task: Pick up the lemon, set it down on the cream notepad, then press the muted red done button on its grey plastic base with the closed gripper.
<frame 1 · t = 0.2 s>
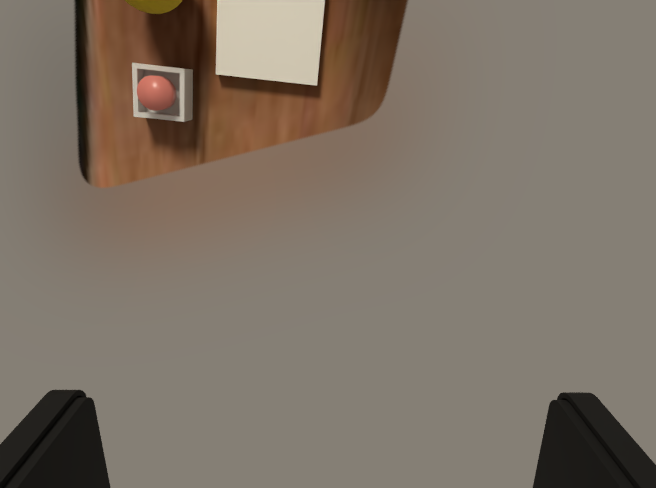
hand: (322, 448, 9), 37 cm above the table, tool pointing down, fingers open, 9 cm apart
paper pad: (271, 25, 40), on the table
button base: (168, 92, 42), on the table
done button: (157, 93, 39), point 3 cm above the table, slide at 0.0 cm
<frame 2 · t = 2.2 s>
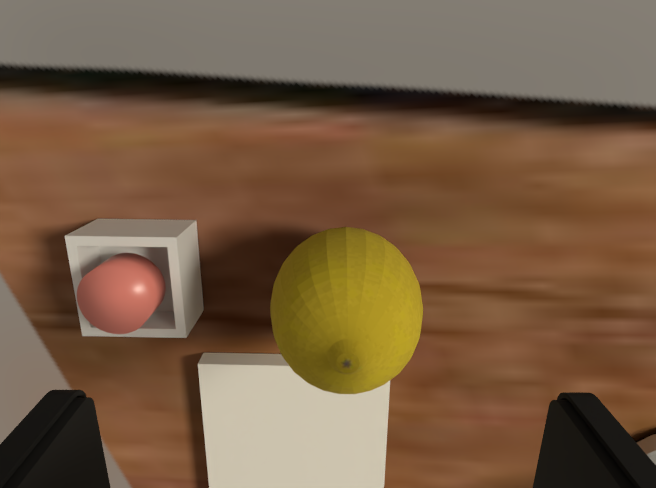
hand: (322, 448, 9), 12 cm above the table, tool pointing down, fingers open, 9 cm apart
paper pad: (296, 430, 24), on the table
button base: (152, 265, 21), on the table
lemon: (344, 264, 21), on the table
done button: (123, 292, 18), point 3 cm above the table, slide at 0.0 cm
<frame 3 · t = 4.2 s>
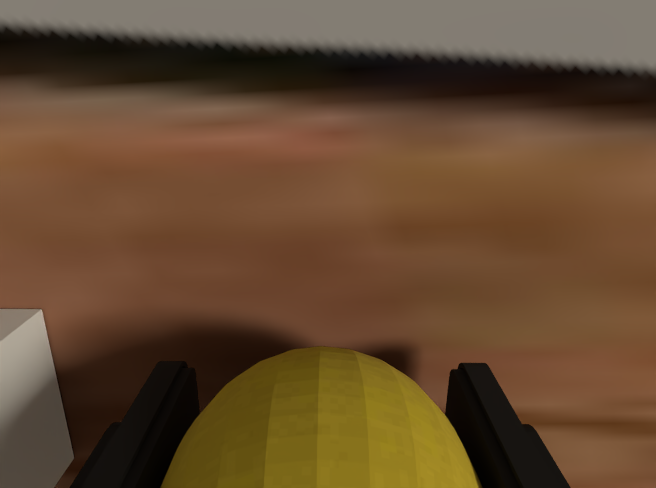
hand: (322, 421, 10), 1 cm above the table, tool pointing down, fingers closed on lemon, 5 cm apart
lemon: (323, 380, 12), on the table, touching gripper
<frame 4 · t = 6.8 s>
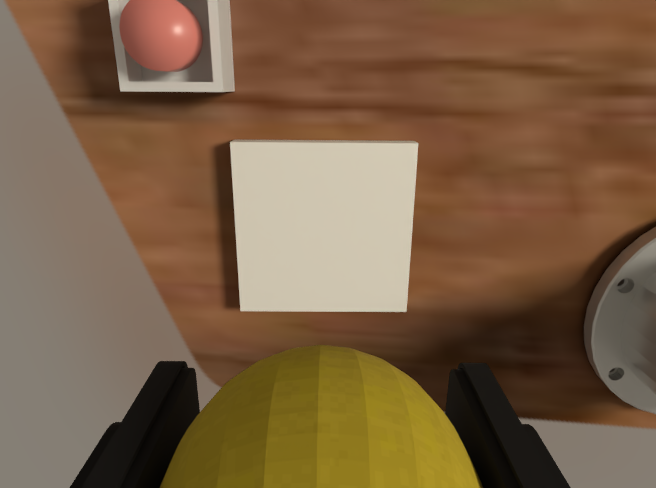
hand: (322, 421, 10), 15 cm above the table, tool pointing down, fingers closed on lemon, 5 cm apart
paper pad: (323, 226, 24), on the table
button base: (184, 41, 21), on the table
lemon: (323, 379, 12), point 13 cm above the table, touching gripper
done button: (162, 34, 18), point 3 cm above the table, slide at 0.0 cm
when the fingers open (4 cm above the table, at t = 9.6 s): lemon drops 1 cm, resting on paper pad.
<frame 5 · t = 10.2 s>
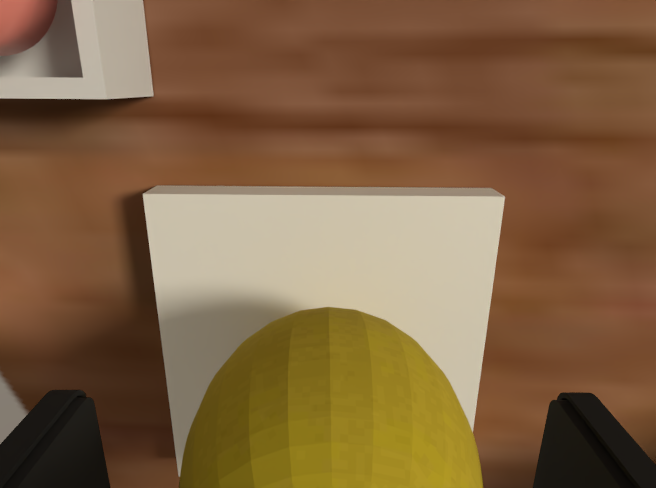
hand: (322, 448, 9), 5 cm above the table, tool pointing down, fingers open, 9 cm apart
paper pad: (323, 334, 14), on the table
lemon: (328, 349, 13), point 1 cm above the table, touching paper pad
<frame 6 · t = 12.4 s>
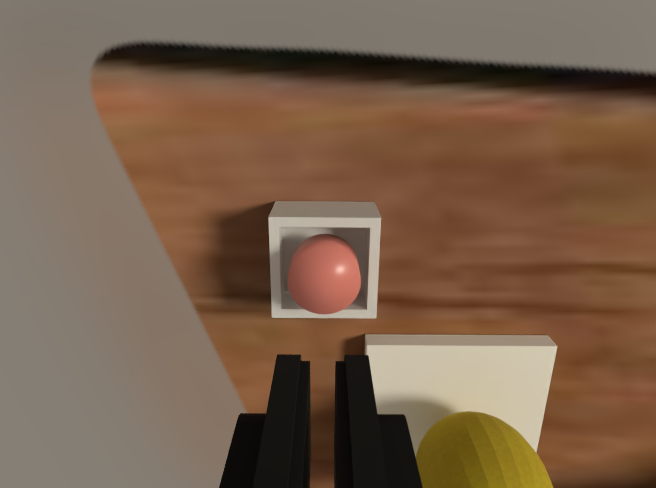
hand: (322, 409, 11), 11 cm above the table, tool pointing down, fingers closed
paper pad: (447, 410, 24), on the table
button base: (324, 248, 21), on the table
lemon: (454, 420, 23), point 1 cm above the table, touching paper pad
done button: (324, 273, 18), point 3 cm above the table, slide at 0.0 cm
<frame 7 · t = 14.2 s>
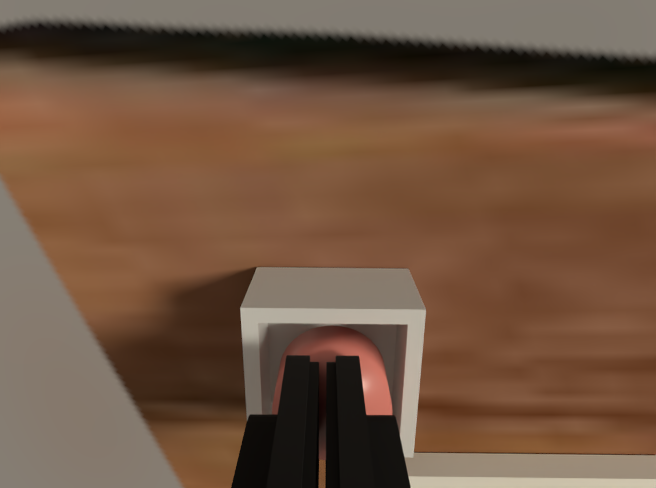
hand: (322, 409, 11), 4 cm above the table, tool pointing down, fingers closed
button base: (331, 334, 14), on the table
done button: (332, 391, 11), point 3 cm above the table, slide at 0.2 cm, touching gripper
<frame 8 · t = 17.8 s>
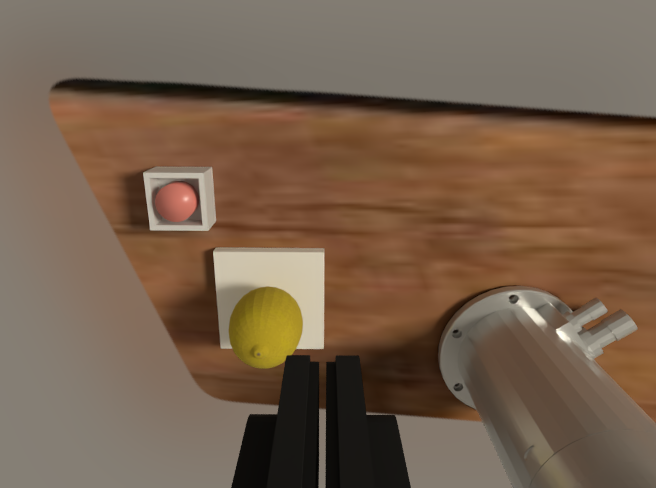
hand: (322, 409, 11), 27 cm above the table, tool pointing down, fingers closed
paper pad: (271, 297, 40), on the table
button base: (186, 194, 37), on the table
lemon: (272, 301, 39), point 1 cm above the table, touching paper pad
done button: (177, 201, 34), point 2 cm above the table, slide at 0.7 cm
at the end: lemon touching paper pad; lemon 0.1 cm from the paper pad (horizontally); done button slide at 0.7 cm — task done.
